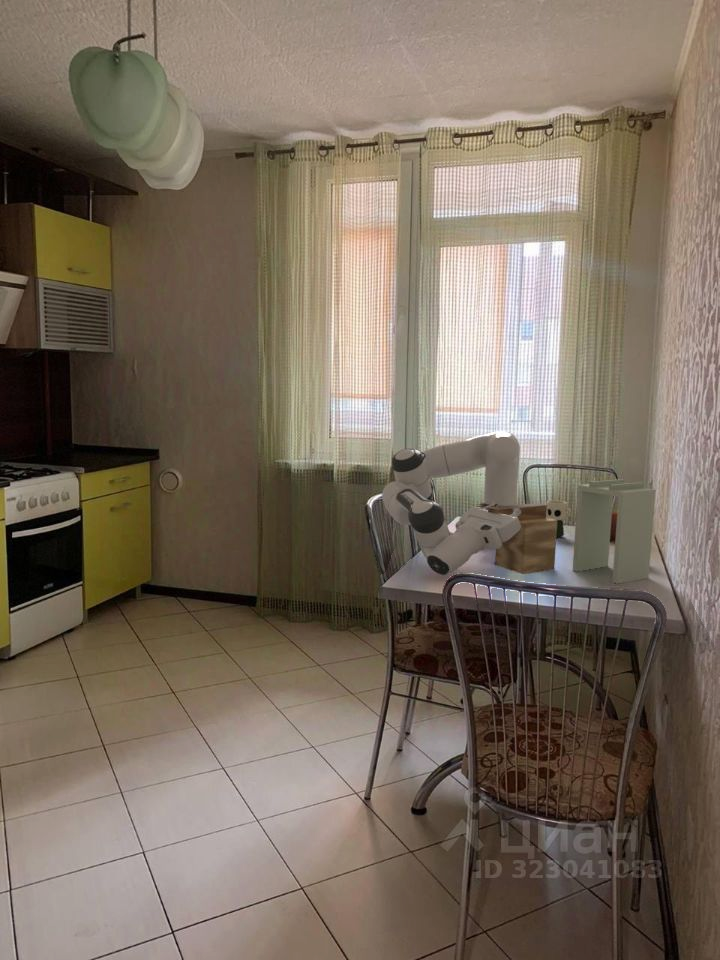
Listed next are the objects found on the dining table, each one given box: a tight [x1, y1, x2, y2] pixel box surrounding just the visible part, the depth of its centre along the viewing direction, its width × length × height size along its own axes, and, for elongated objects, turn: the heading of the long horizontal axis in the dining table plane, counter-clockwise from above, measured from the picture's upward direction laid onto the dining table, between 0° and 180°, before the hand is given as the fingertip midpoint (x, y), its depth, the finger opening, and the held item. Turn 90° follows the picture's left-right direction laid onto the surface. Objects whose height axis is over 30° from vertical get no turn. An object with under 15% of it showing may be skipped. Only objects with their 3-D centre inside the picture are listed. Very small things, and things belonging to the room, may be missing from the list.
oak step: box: [494, 517, 557, 575], centre depth 218 cm, size 12×13×15 cm
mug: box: [610, 509, 618, 541], centre depth 262 cm, size 12×9×10 cm
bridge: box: [572, 478, 657, 585], centre depth 211 cm, size 16×14×28 cm
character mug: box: [546, 499, 572, 538], centre depth 265 cm, size 11×7×13 cm, turn 54°
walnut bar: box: [488, 502, 547, 521], centre depth 215 cm, size 4×20×4 cm, turn 122°
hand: (507, 507), depth 212 cm, fingers open, 8 cm apart
